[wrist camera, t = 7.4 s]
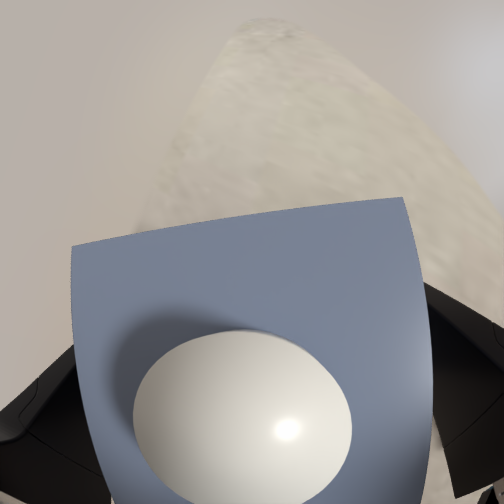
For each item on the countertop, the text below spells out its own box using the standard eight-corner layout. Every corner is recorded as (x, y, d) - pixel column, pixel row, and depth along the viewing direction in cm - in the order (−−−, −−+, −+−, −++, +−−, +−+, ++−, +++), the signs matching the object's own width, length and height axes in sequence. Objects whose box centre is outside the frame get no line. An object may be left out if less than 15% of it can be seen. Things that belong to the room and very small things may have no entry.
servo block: (317, 373, 15) (439, 527, 1) (233, 383, 15) (103, 543, 2) (307, 290, 16) (427, 170, 3) (223, 301, 16) (38, 232, 3)
